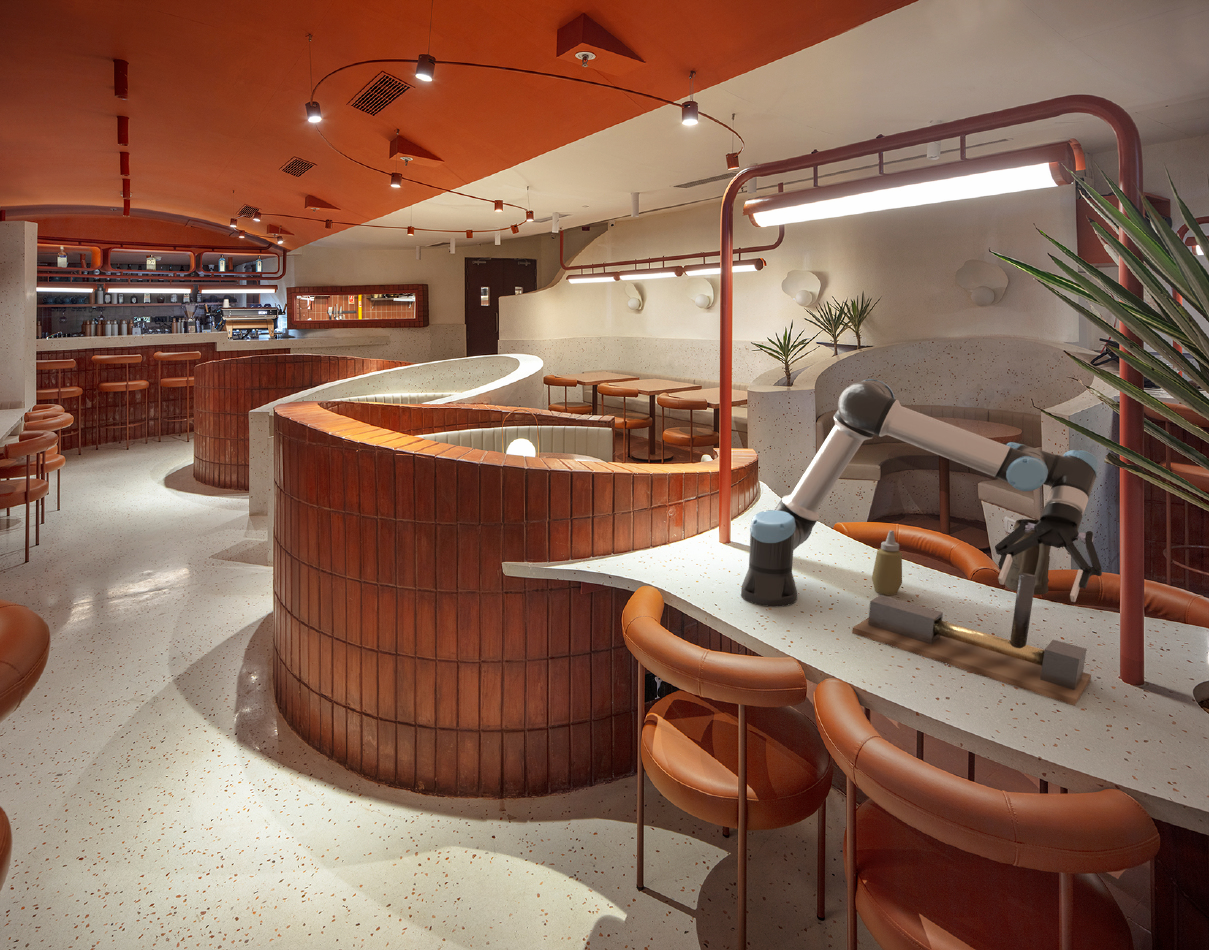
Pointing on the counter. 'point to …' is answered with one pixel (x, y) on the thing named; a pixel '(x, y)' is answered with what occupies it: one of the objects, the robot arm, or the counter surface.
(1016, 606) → the sliding bolt
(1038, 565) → the beer stein
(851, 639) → the counter surface
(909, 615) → the outer sleeve
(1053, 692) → the base board
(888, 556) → the squeeze bottle
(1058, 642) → the socket
